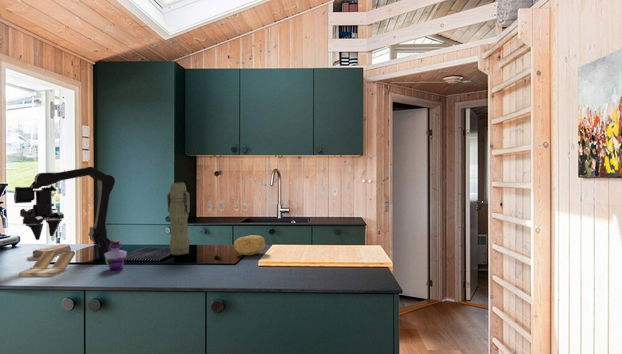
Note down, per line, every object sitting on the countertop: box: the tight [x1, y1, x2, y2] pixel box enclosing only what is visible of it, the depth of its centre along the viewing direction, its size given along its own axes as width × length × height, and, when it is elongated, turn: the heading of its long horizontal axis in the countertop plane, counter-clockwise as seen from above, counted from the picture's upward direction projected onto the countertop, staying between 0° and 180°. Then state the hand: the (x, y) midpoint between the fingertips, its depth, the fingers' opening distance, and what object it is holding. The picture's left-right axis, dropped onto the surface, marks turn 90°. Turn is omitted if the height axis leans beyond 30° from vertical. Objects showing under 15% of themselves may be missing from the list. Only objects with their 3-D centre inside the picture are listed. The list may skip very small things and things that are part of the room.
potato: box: [233, 234, 266, 256], centre depth 198 cm, size 10×14×10 cm
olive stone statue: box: [166, 181, 191, 256], centre depth 203 cm, size 9×12×35 cm
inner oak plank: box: [51, 250, 76, 271], centre depth 175 cm, size 5×9×1 cm
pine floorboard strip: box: [18, 267, 65, 277], centre depth 168 cm, size 14×7×2 cm, turn 87°
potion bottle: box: [104, 240, 128, 271], centre depth 174 cm, size 9×9×12 cm
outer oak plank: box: [31, 251, 57, 268], centre depth 176 cm, size 5×9×1 cm
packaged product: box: [26, 243, 76, 261], centre depth 201 cm, size 18×5×10 cm
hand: (44, 237), depth 177 cm, fingers open, 9 cm apart
